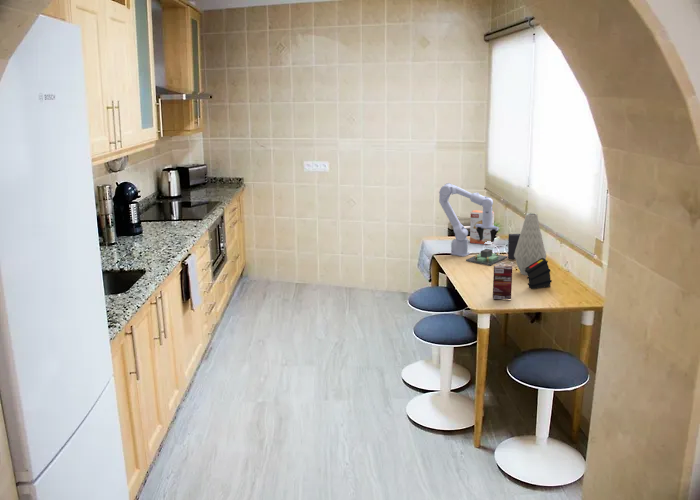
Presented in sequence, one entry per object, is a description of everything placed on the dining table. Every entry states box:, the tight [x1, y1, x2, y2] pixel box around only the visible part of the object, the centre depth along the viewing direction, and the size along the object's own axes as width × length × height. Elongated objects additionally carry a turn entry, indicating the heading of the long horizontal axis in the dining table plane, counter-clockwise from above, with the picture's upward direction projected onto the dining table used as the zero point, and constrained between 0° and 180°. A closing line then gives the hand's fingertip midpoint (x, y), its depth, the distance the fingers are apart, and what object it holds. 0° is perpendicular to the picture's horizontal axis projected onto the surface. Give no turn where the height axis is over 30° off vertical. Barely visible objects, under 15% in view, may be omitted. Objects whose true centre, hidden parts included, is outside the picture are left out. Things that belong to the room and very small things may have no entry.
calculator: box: [507, 233, 521, 261], centre depth 359 cm, size 11×4×15 cm, turn 84°
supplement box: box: [492, 265, 513, 300], centre depth 296 cm, size 9×5×16 cm, turn 80°
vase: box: [514, 212, 547, 277], centre depth 330 cm, size 17×17×33 cm
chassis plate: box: [465, 252, 508, 267], centre depth 362 cm, size 16×20×4 cm
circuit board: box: [476, 248, 498, 262], centre depth 361 cm, size 12×15×5 cm
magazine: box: [525, 258, 552, 290], centre depth 310 cm, size 4×13×15 cm, turn 105°
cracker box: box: [469, 209, 495, 245], centre depth 396 cm, size 14×6×21 cm, turn 62°
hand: (486, 240), depth 367 cm, fingers open, 7 cm apart
